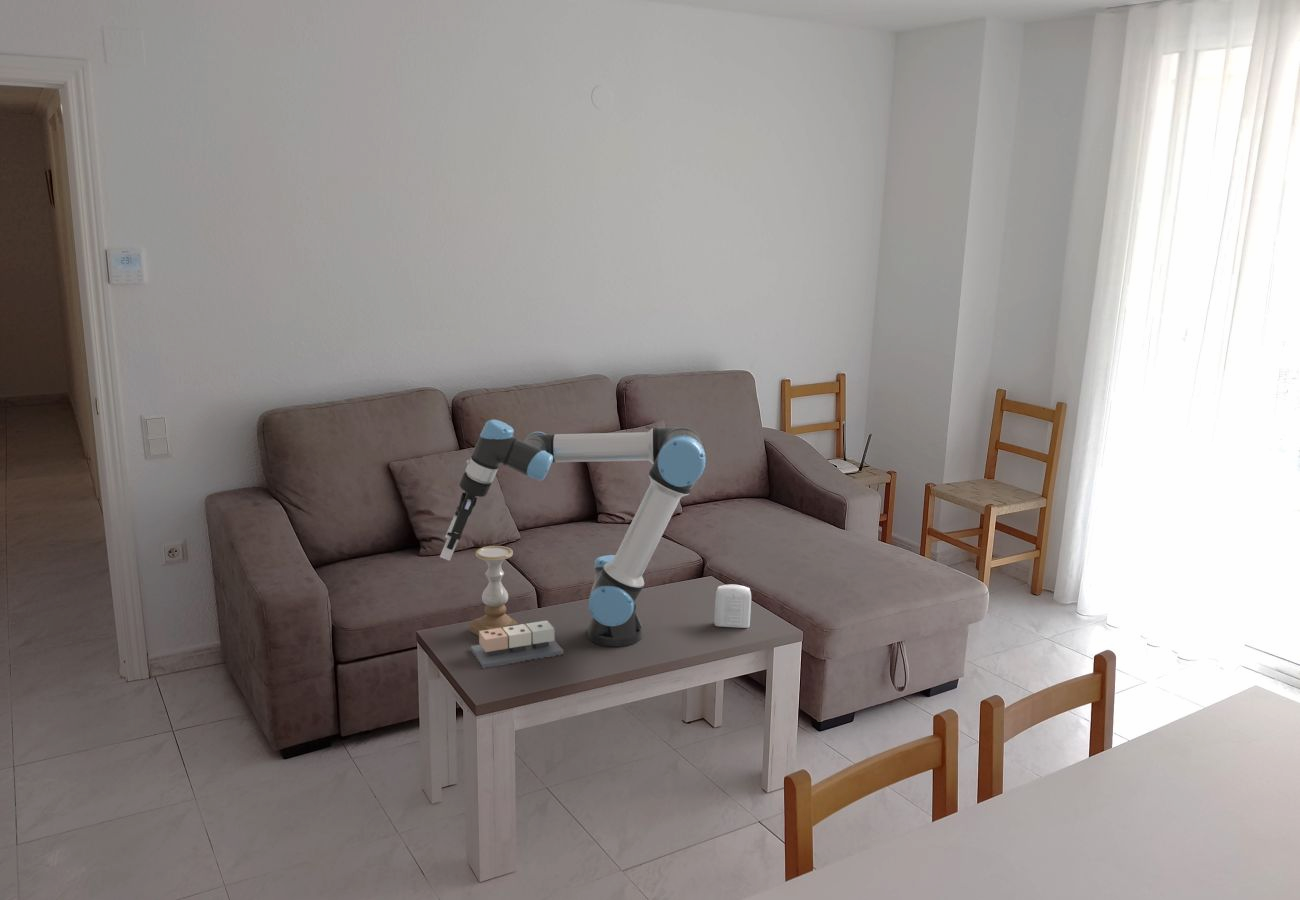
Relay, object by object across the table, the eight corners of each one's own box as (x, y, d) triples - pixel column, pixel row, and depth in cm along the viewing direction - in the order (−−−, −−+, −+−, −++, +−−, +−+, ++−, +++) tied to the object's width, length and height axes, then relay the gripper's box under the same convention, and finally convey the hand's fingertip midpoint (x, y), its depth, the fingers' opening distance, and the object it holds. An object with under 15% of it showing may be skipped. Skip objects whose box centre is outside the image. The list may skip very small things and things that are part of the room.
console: (548, 637, 283) (548, 624, 282) (563, 654, 273) (563, 641, 272) (471, 650, 274) (470, 637, 273) (483, 668, 264) (483, 654, 263)
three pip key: (501, 639, 274) (500, 626, 273) (507, 648, 269) (507, 635, 268) (479, 643, 272) (479, 630, 271) (485, 652, 266) (485, 638, 265)
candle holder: (468, 630, 287) (467, 549, 282) (503, 621, 294) (501, 542, 288) (487, 643, 279) (486, 560, 273) (522, 634, 285) (521, 553, 280)
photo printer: (749, 623, 296) (751, 583, 293) (750, 629, 292) (751, 588, 289) (714, 621, 296) (715, 581, 294) (714, 627, 292) (715, 587, 289)
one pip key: (547, 632, 279) (547, 619, 279) (554, 640, 274) (554, 627, 273) (526, 635, 277) (525, 622, 276) (533, 644, 272) (532, 631, 271)
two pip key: (524, 636, 277) (524, 623, 276) (531, 644, 271) (531, 631, 271) (502, 639, 274) (502, 626, 273) (509, 648, 269) (509, 635, 268)
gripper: (468, 457, 273) (438, 526, 278) (460, 487, 249) (428, 561, 254) (494, 467, 275) (464, 535, 280) (489, 498, 251) (456, 572, 256)
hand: (447, 548), depth 267 cm, fingers open, 13 cm apart
